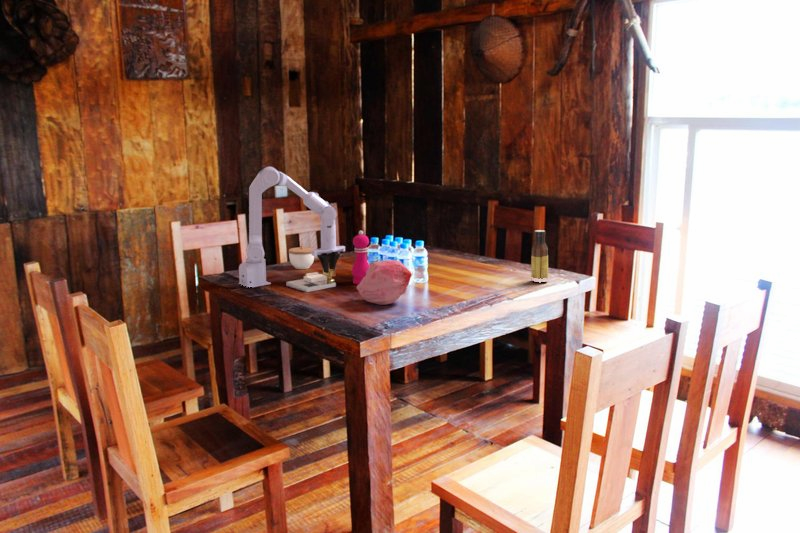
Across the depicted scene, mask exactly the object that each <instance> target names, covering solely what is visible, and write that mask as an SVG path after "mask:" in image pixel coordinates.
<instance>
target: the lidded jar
mask: <svg viewBox="0 0 800 533" xmlns="http://www.w3.org/2000/svg"><path fill="white" fill-rule="evenodd" d="M311 250H316V249H315V248H313V247H305V246H304V245H303V244H302V245H300V246H299V247H291V248H289V249H288V257H289V261H290V264H291V266H293V267H294V269H297V270H305V269H306V270H307V269H310V267H311V266H312V265H313V263H314V260H315V256H312V253H311Z"/></svg>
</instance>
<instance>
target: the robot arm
mask: <svg viewBox="0 0 800 533" xmlns="http://www.w3.org/2000/svg"><path fill="white" fill-rule="evenodd" d="M275 185H278V186H280V187H286V188H288V189H289V190H291V191H292V192H293V193H294V194H296V196H298V197H300V198H301V199H302V201H303V202H302V203H303V205H304V206H305V207H307V208H308V209H309V210H311V211H312V212H313V213H315V214H316V215H319V217H320V248H317V249H315V250H311V253H312V256H314V257H317V258H318V260H319V262H320V264H321V266H322V272H323V271H324V272H325V273H328V272H329V268H332V269H333V270H336V267H337V262H338V260H339V258H340V256H341V253H340V252H344V253H345V252H346V246H345V245H338V246H337V234H336V233H337V226H336V219H337V216H338V213H337V211H336V209H335V207H333V206H332V205H331V204H330V203H329V202H328V201H327V200H324V199H323V198H321V196H320V195H319V193H318V192H314V191H309V192H308V190H306V189H304V188H303V187H302V186H301V185H299V184H298V183H297V182H296V181H295V180H293V179H292V178H291V177H290V176H288V175H287V174H286V173H284V172H282V171H280V170H277V169H276V168H275V167H274V166H266V167H264V168H263V169H261V170H260V171H258V173H257V175H256V176H255V178H254V179H253V181H252V182H251V183H250V186H249V188H248V205H249V206H248V212H249V213H248V220H249V221H248V228H249V229H248V231H249V232H248V244H247V246H246V256H247V257H246V258H245V261H244V262H242V263H240V264H239V265H238V278H239V282H238V285H239V284H241V285H240V286H242V285H243V287H245V286H246V287H245V288H248V287H249V288H250V287H252V288H257V287H262V286H266V285H267V286H268V285H271V284H272V283H271V282H269V281H267V266H266V265H267V264H266V259H265V258H264V257H265V254H266V253H265V250H264V247H263V237H262V234H263V233H262V228H263V226H262V225H263V224H262V220H263V218H262V217H263V212H262V210H263V206H262V205H263V204H262V203H263V199H262V198H263V197H262V196H263V193H264V192H265V191H266V190H268V189H269V188H271V187H273V186H275Z"/></svg>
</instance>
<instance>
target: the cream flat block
mask: <svg viewBox="0 0 800 533" xmlns="http://www.w3.org/2000/svg"><path fill="white" fill-rule="evenodd" d="M303 279H304V281H307V282H311V283H312V282H318V281H323V280H327V275H325V274H323V273H319V272H318V271H314V272H308V273H305V275H303Z"/></svg>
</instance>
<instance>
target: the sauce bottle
mask: <svg viewBox="0 0 800 533" xmlns="http://www.w3.org/2000/svg"><path fill="white" fill-rule="evenodd" d="M533 234H534V243H533V244H532V247H531V256H530V257H531V264H530V265H531V266H530V267H531V268H530V270H531V272H530V274H531V275H530V276H531V277H533V278H538V279H540V278H541V279H543V278H547V279H548V278H549V252H548V251H549V247H548V245H547V243H546V230H543V229H537V230H534V233H533Z"/></svg>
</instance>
